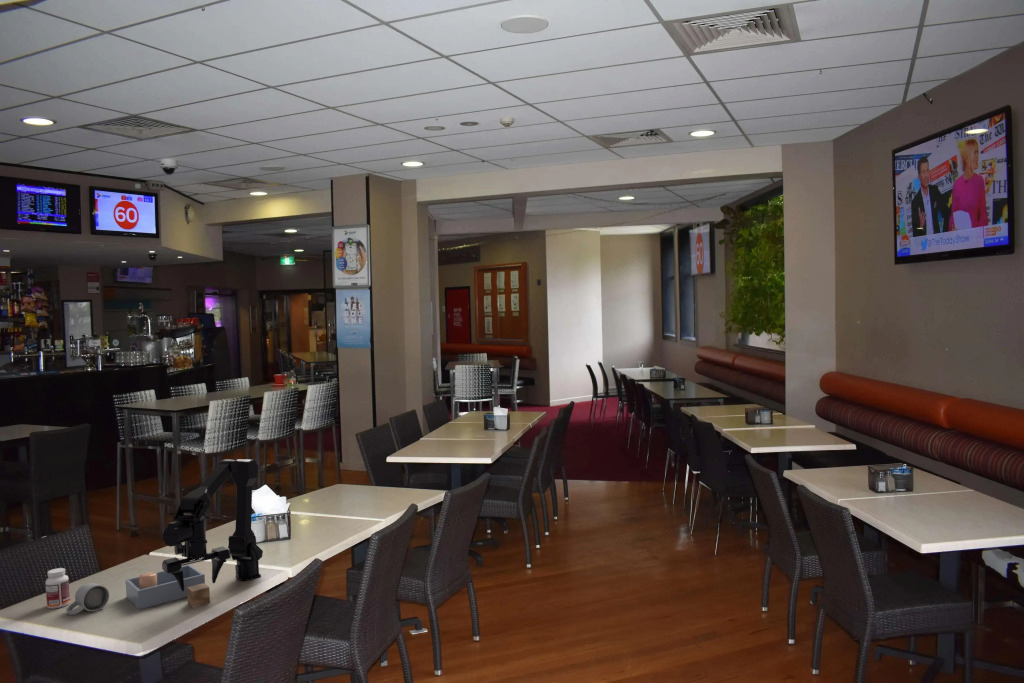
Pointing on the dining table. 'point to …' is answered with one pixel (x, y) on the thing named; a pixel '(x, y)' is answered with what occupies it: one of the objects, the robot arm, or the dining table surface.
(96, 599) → the ceramic mug
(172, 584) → the tote
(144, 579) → the terracotta cylinder
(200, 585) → the walnut cube
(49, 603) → the pill bottle
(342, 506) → the dining table surface
